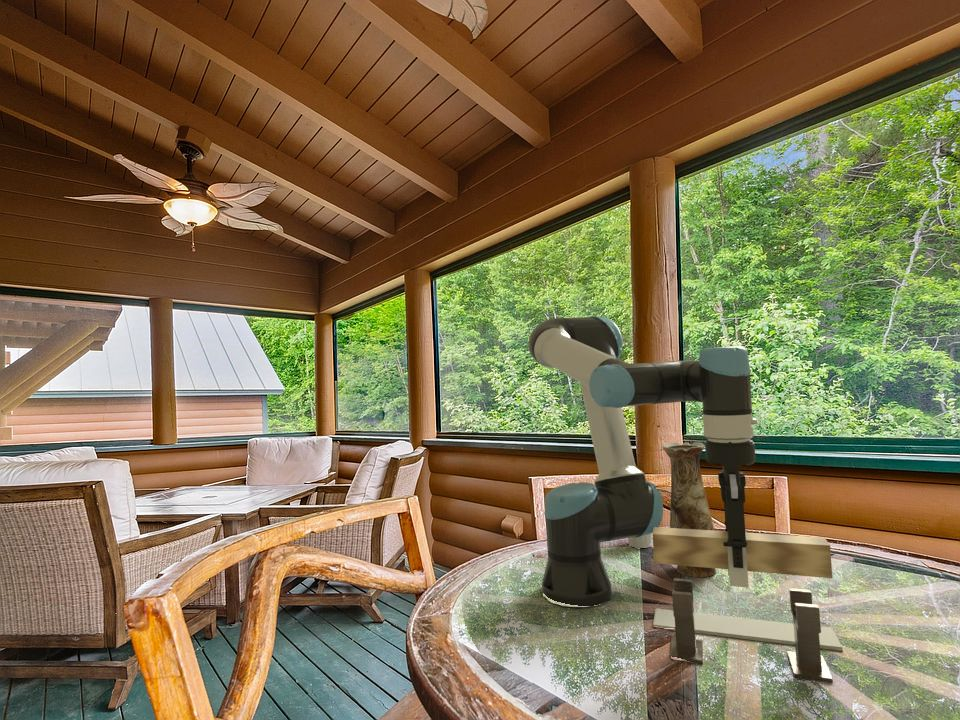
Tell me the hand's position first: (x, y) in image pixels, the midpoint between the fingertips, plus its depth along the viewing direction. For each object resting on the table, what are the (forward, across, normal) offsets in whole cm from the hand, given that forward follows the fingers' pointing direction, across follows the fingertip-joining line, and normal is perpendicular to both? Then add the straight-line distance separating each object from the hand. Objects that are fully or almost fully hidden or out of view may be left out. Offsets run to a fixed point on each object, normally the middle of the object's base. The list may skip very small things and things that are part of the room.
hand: (738, 579), depth 87 cm
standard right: (+13, 0, -9) cm, 16 cm away
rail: (-2, 0, 0) cm, 2 cm away
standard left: (+13, 0, +9) cm, 16 cm away
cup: (+14, +54, +22) cm, 60 cm away
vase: (+14, +38, +8) cm, 41 cm away
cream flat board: (+13, +10, 0) cm, 16 cm away
